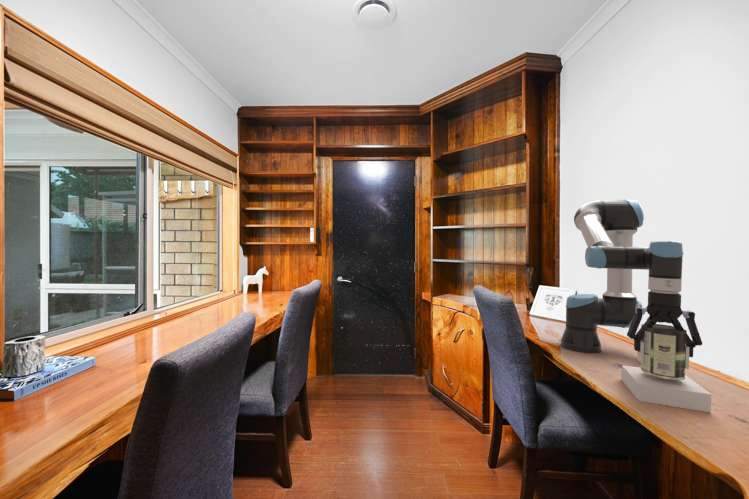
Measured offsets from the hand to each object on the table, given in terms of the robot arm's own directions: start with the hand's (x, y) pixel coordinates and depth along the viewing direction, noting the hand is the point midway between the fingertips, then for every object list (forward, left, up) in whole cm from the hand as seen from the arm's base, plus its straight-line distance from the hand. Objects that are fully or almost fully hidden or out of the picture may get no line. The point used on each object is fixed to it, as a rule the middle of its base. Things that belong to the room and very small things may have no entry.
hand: (662, 364), depth 99 cm
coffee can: (0, 0, -3) cm, 3 cm away
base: (0, 0, -9) cm, 9 cm away
